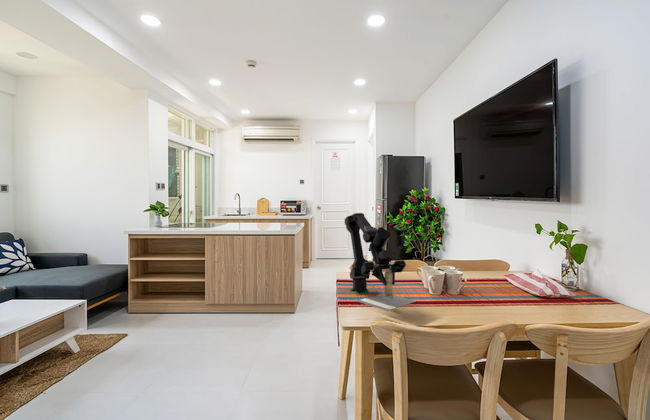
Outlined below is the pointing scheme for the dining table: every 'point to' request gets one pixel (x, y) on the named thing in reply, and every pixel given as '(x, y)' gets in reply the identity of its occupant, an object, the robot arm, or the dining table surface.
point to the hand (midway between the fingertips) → (389, 284)
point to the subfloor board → (386, 302)
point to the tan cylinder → (388, 286)
